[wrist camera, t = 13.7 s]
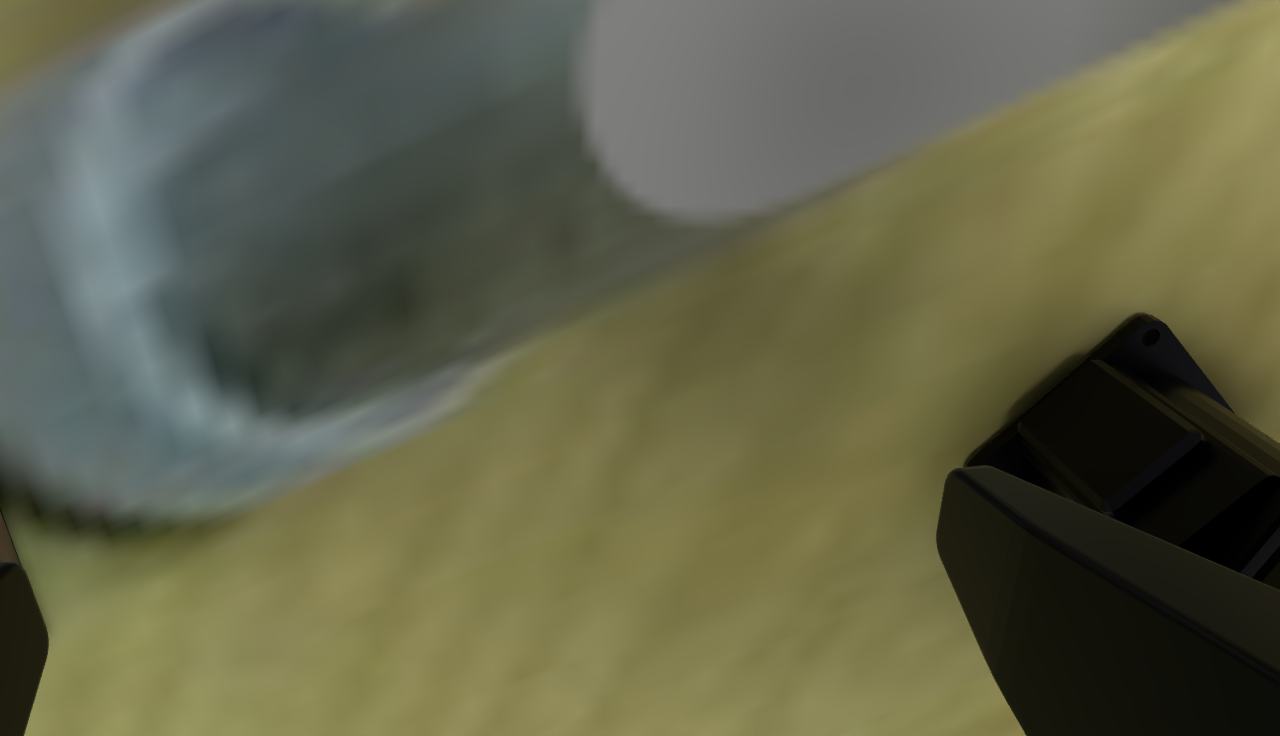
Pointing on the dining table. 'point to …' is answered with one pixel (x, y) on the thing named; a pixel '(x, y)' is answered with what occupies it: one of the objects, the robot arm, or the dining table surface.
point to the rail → (6, 544)
